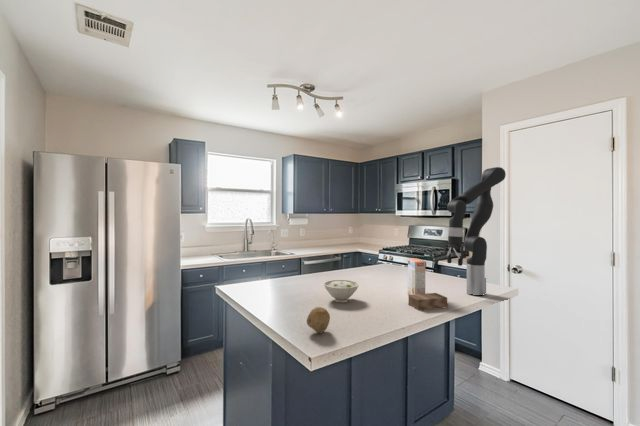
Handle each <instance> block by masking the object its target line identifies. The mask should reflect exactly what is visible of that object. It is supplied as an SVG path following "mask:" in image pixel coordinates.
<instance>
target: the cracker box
mask: <svg viewBox="0 0 640 426" xmlns="http://www.w3.org/2000/svg"><path fill="white" fill-rule="evenodd" d="M426 263H427V262H426V261H424V260H421V259H420V258H417V257H416V258H415V257H412V258H411V257H410V258H407V295H408V296H409V295H414V294H426V266H427V265H426Z"/></svg>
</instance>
